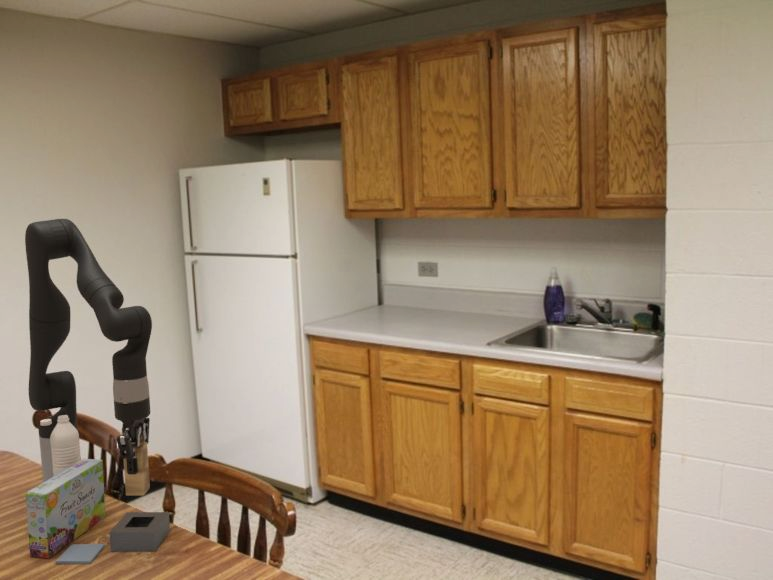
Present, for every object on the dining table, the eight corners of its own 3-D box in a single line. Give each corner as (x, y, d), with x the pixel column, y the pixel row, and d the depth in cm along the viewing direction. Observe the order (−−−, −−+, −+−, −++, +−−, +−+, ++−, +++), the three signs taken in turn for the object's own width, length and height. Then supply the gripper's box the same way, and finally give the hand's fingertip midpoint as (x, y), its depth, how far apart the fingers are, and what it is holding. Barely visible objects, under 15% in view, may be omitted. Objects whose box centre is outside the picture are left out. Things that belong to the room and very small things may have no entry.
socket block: (128, 530, 169) (126, 512, 168) (170, 530, 168) (168, 512, 168) (110, 551, 159) (109, 532, 158) (155, 551, 158) (154, 532, 158)
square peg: (132, 488, 164) (129, 442, 162) (149, 488, 164) (146, 442, 162) (125, 495, 160) (122, 448, 159) (143, 495, 160) (140, 448, 158)
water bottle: (76, 504, 183) (68, 410, 180) (90, 511, 179) (82, 414, 176) (42, 516, 177) (34, 419, 173) (56, 524, 173) (47, 424, 169)
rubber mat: (72, 546, 161) (71, 544, 161) (104, 546, 161) (104, 544, 161) (56, 563, 154) (55, 561, 154) (90, 563, 154) (90, 561, 153)
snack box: (51, 559, 156) (45, 494, 154) (28, 557, 157) (22, 492, 155) (107, 516, 176) (103, 458, 174) (87, 515, 177) (82, 456, 175)
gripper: (127, 387, 166) (131, 458, 168) (101, 406, 152) (107, 482, 154) (159, 387, 166) (163, 458, 168) (136, 405, 152) (141, 482, 154)
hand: (136, 469), depth 161 cm, fingers closed on square peg, 4 cm apart
